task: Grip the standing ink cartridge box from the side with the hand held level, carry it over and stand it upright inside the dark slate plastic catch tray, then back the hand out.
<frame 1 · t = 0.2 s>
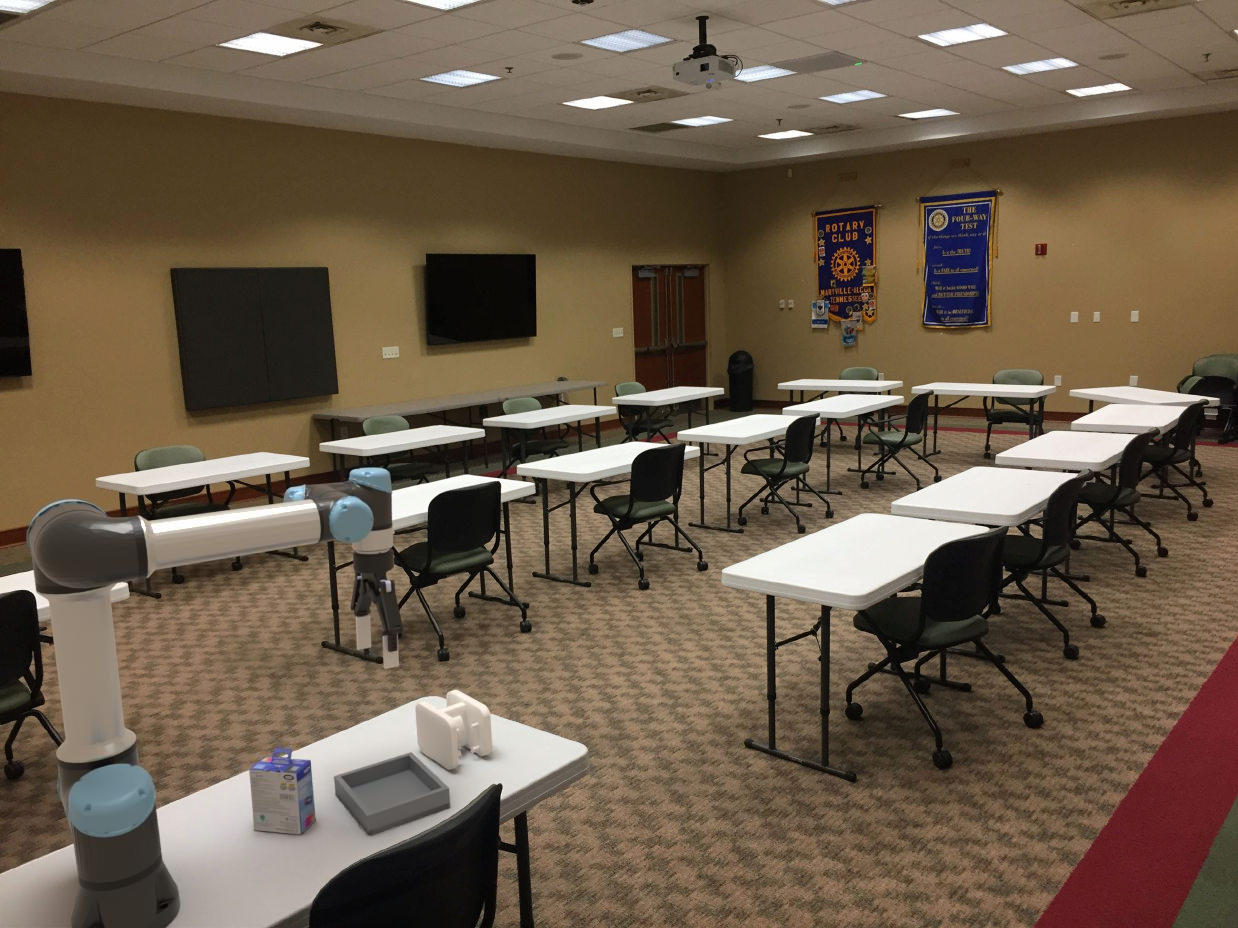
hand: (377, 657, 182), 27 cm above the table, tool pointing down, fingers open, 13 cm apart
ink cartridge box: (285, 826, 175), on the table
catch tray: (392, 800, 182), on the table
cable organizer: (455, 755, 200), on the table
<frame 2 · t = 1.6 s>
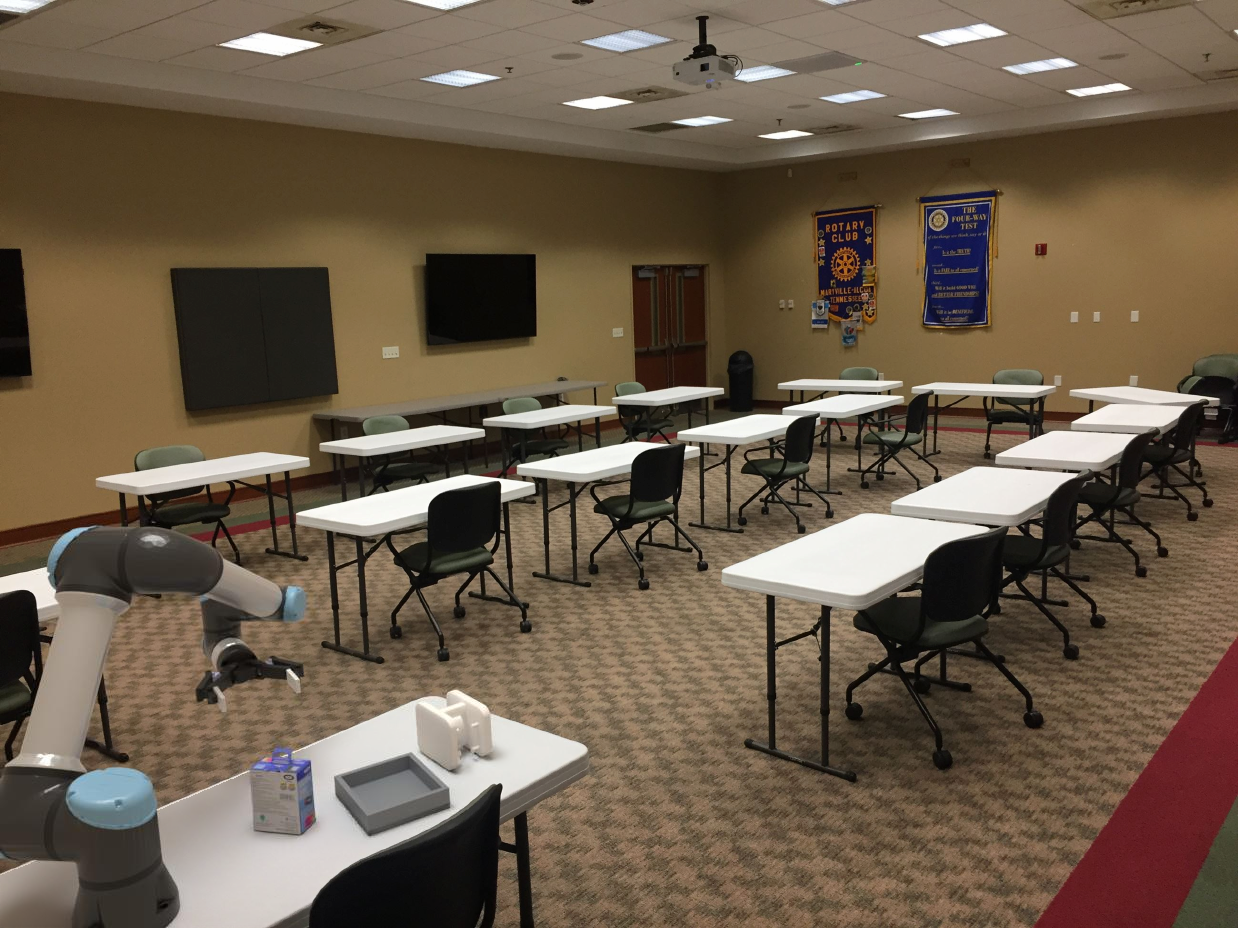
hand: (261, 695, 178), 22 cm above the table, tool horizontal, fingers open, 13 cm apart
nothing on the table moved.
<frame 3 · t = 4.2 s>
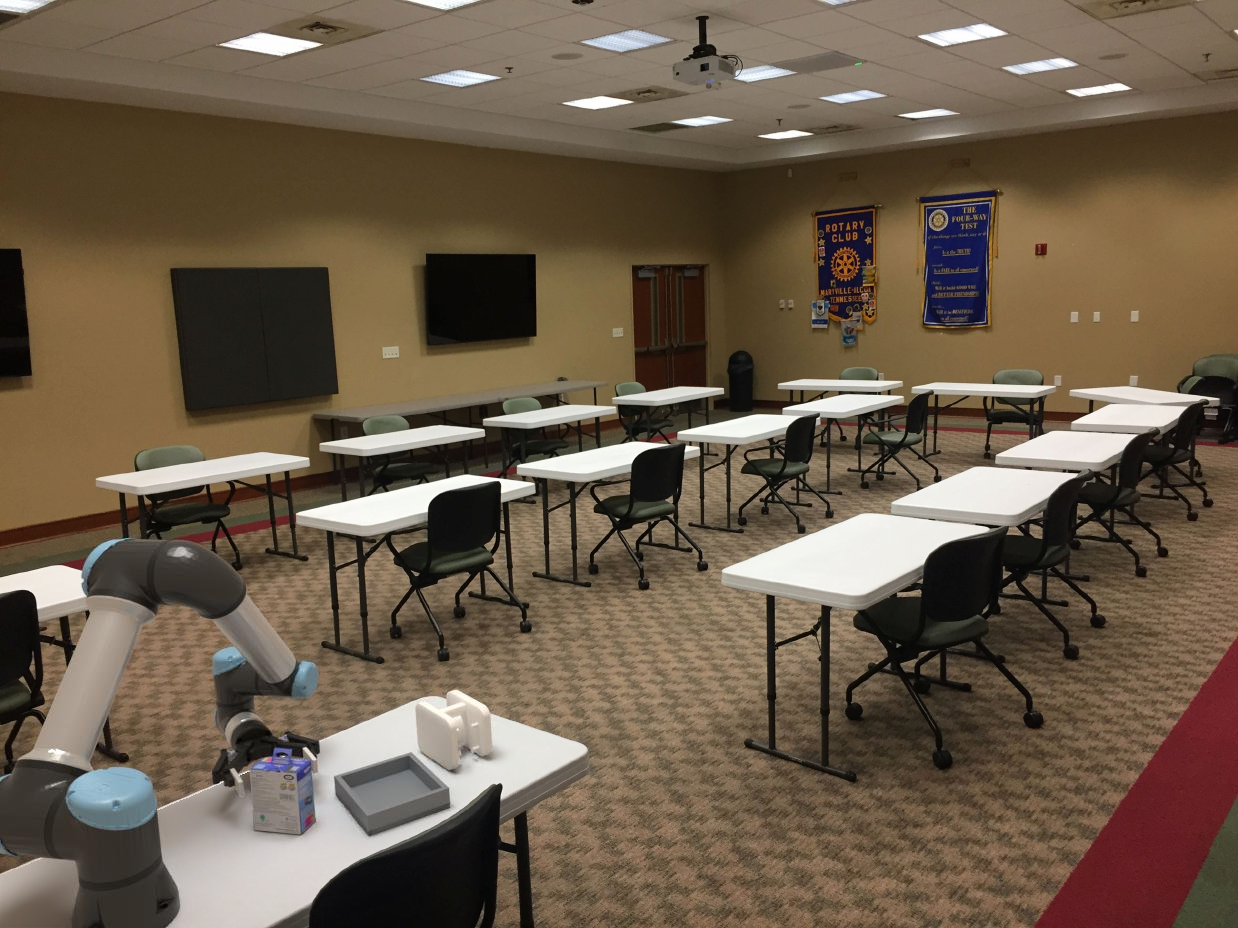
hand: (279, 777, 177), 7 cm above the table, tool horizontal, fingers open, 13 cm apart
nothing on the table moved.
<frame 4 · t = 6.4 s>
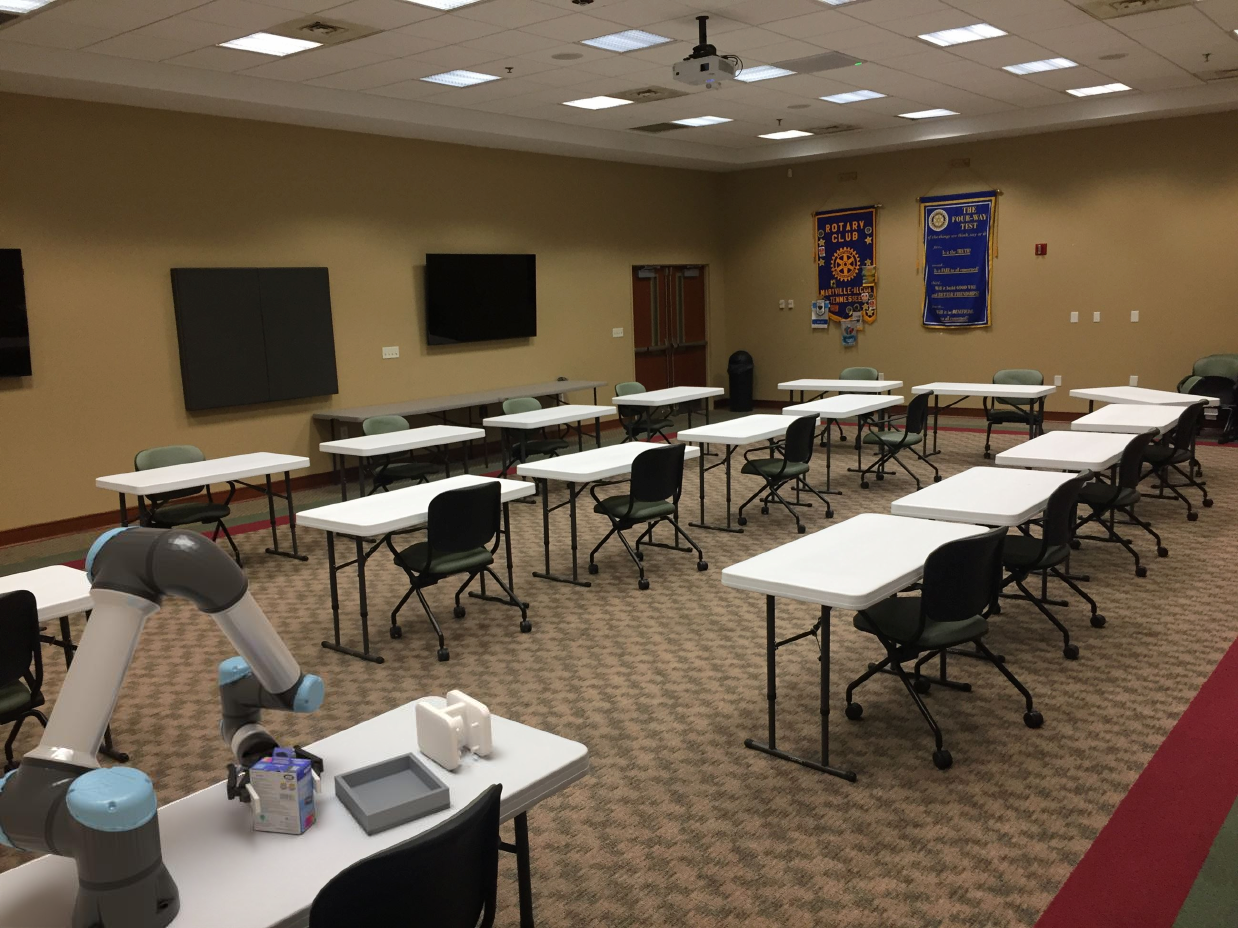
hand: (288, 795, 170), 8 cm above the table, tool horizontal, fingers closed on ink cartridge box, 10 cm apart
ink cartridge box: (285, 825, 175), on the table, touching gripper
everything else where it was.
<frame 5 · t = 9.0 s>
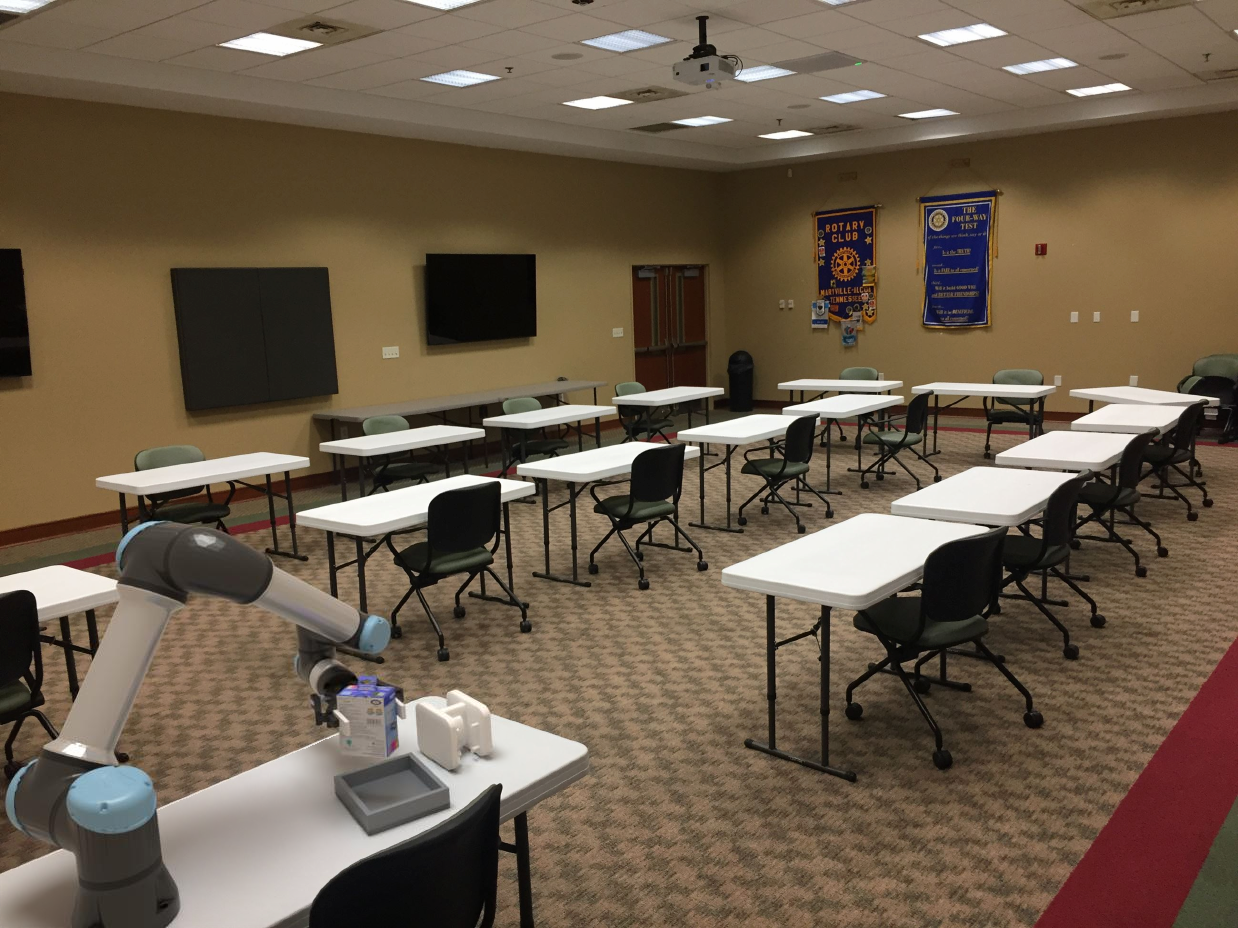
hand: (376, 720, 175), 18 cm above the table, tool horizontal, fingers closed on ink cartridge box, 10 cm apart
ink cartridge box: (370, 751, 180), point 10 cm above the table, touching gripper
everything else where it was.
when the fingers open (10 cm above the table, at t = 11.7 s): ink cartridge box drops 1 cm, resting on catch tray.
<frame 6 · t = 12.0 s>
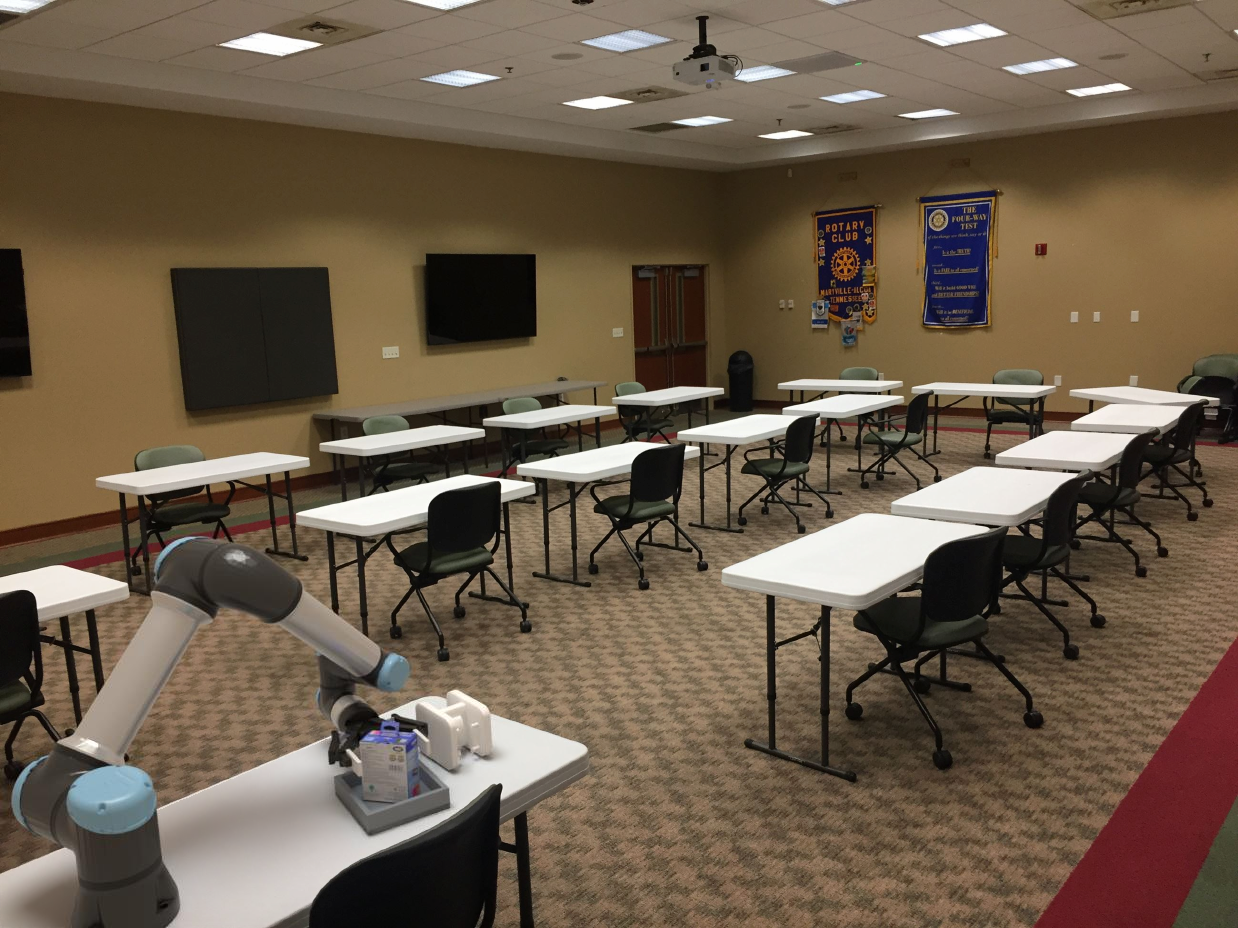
hand: (395, 758, 177), 10 cm above the table, tool horizontal, fingers open, 13 cm apart
ink cartridge box: (392, 796, 182), point 1 cm above the table, touching catch tray
everything else where it was.
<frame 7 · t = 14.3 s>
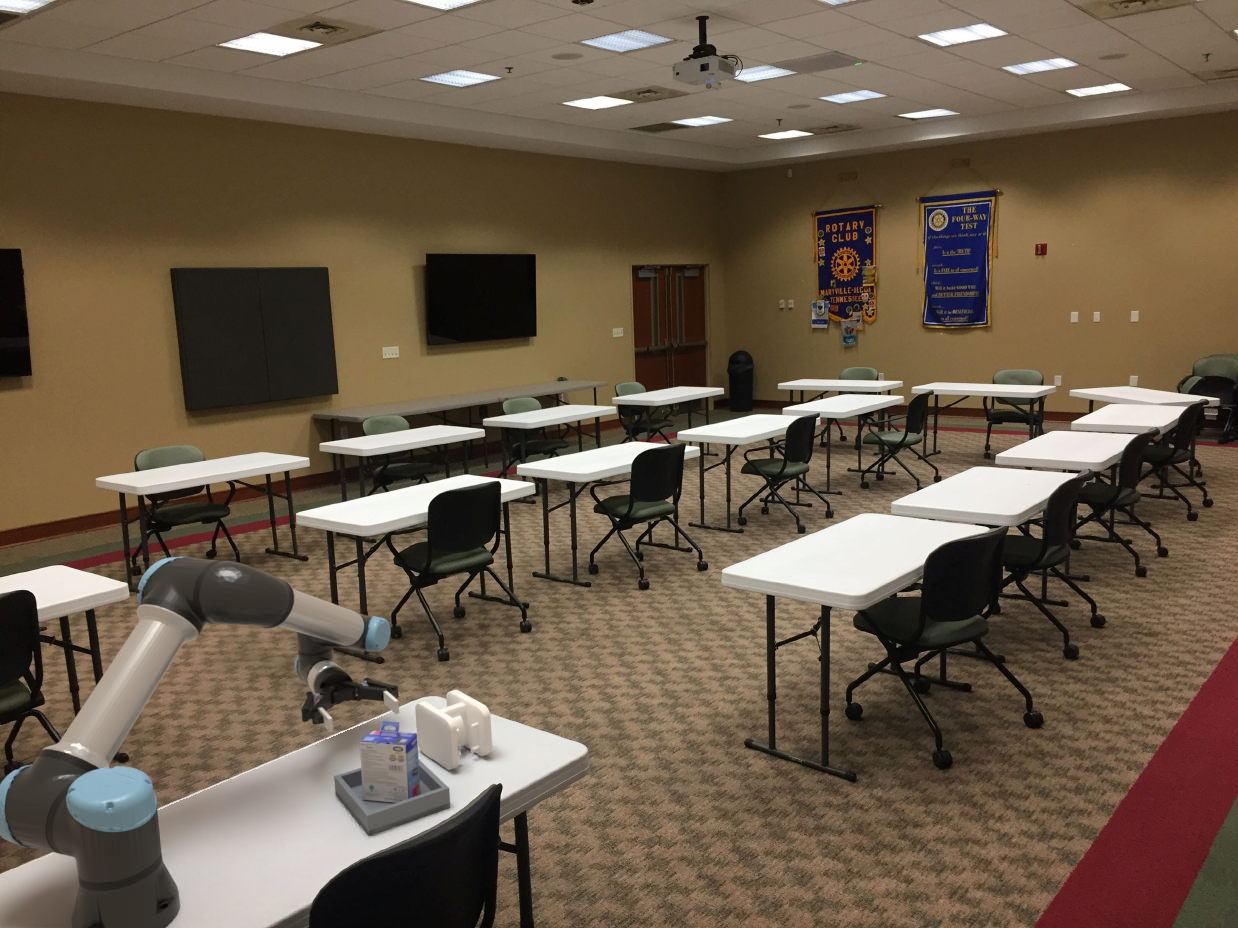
hand: (364, 716, 189), 13 cm above the table, tool horizontal, fingers open, 13 cm apart
nothing on the table moved.
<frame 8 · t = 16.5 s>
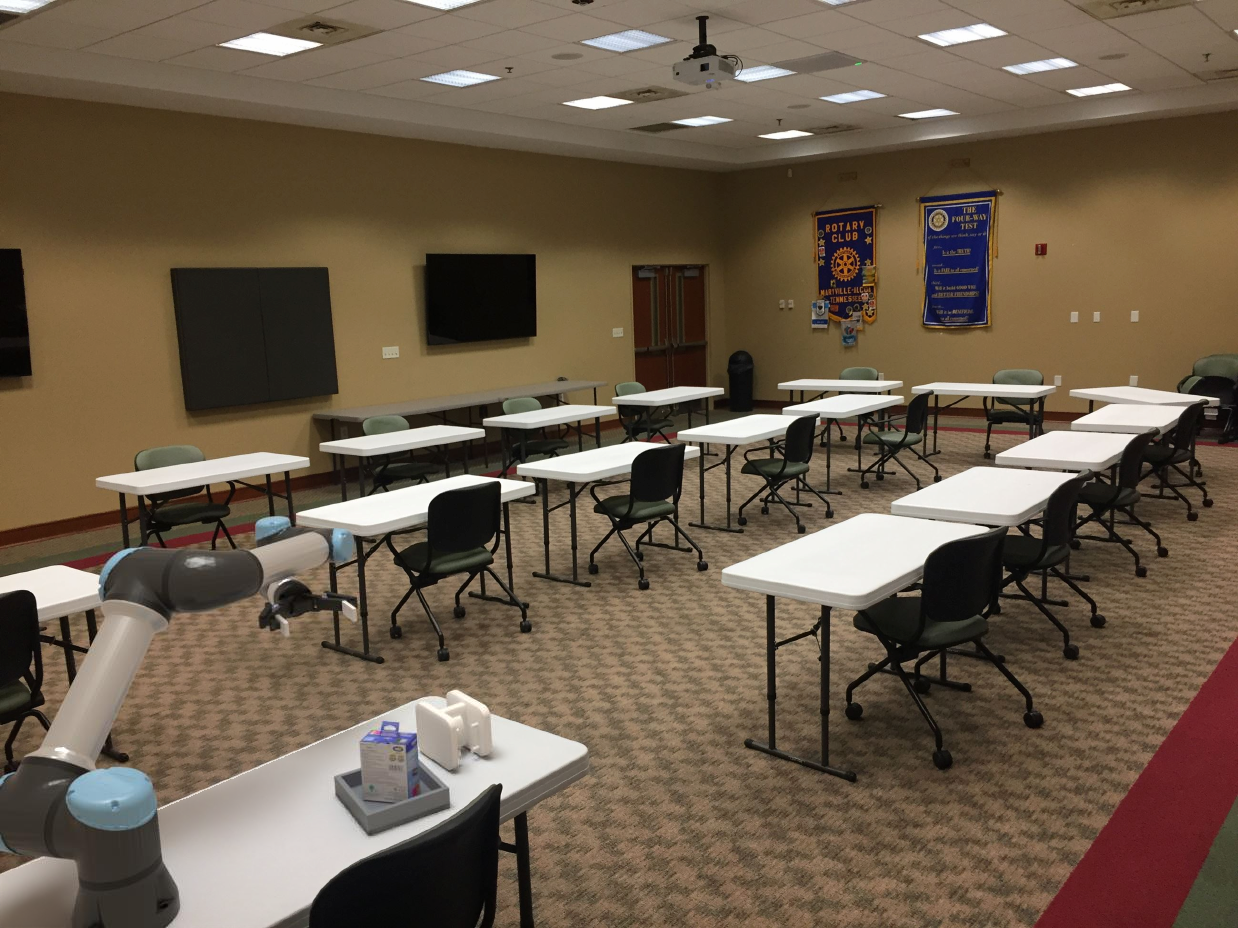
hand: (321, 622, 189), 32 cm above the table, tool horizontal, fingers open, 13 cm apart
nothing on the table moved.
at the end: ink cartridge box inside the target area on the catch tray (0.2 cm from its centre), point 0.8 cm above the catch tray's base; ink cartridge box tilted 0°; the gripper is holding nothing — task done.
